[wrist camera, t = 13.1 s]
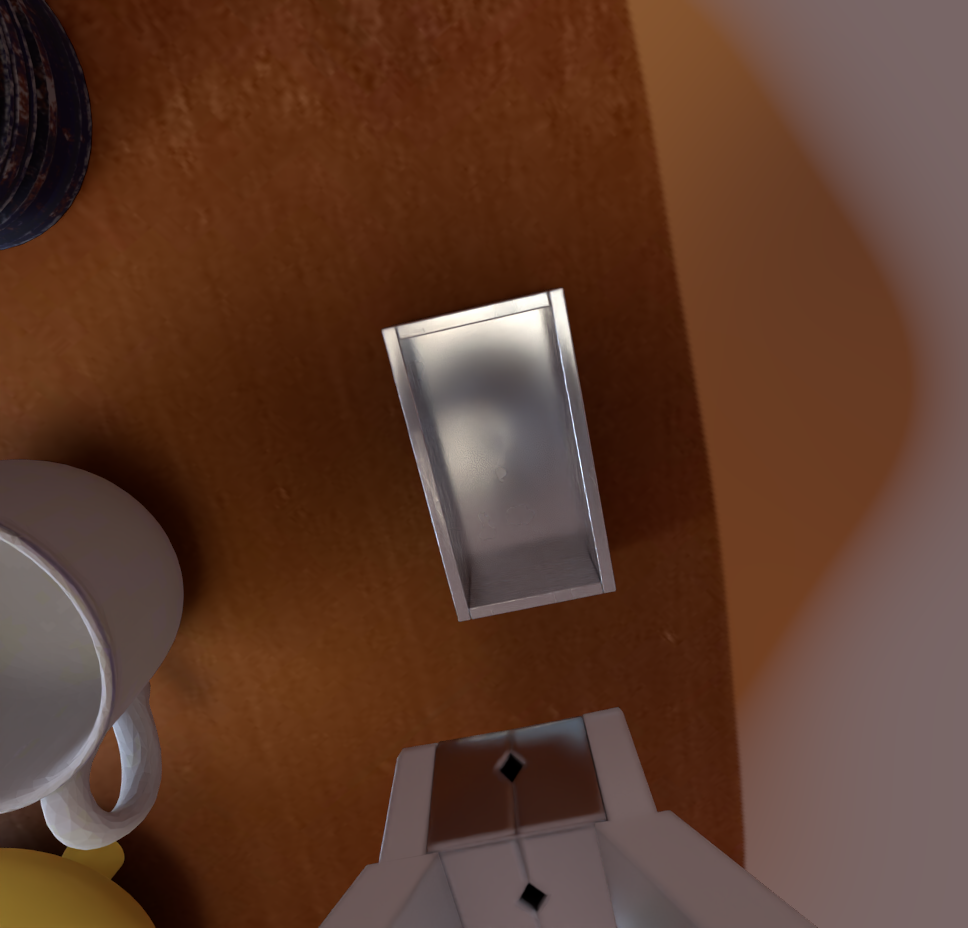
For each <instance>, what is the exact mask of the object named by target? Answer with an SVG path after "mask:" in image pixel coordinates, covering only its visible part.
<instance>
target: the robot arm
mask: <svg viewBox="0 0 968 928" xmlns="http://www.w3.org/2000/svg"><path fill="white" fill-rule="evenodd" d="M318 928H818V927H816V926H815V925H814V924H813V923H811V922H810V921H809V920H808V919H806V918H805V917H804V916H802V915H801V914H800V913H799V912H797V911H796V910H795V909H794V908H792V907H791V906H790V905H789V904H787V903H786V902H785V901H784V900H782V899H781V898H780V897H779V896H777V895H776V894H775V893H774V892H772V891H771V890H770V889H769V888H767V887H766V886H765V885H764V884H762V883H761V882H760V881H758V880H757V879H756V878H755V877H753V876H752V875H751V874H750V873H748V872H747V871H746V870H745V869H743V868H742V867H741V866H740V865H738V864H737V863H736V862H735V861H733V860H732V859H731V858H730V857H728V856H727V855H726V854H724V853H723V852H722V851H721V850H719V849H718V848H717V847H716V846H714V845H713V844H712V843H711V842H709V841H708V840H707V839H706V838H704V837H703V836H702V835H701V834H699V833H698V832H697V831H696V830H694V829H693V828H692V827H690V826H689V825H688V824H687V823H685V822H684V821H683V820H682V819H680V818H679V817H678V816H677V815H675V814H674V813H673V812H672V811H670V810H668V811H662V812H657V810H656V807H655V804H654V801H653V798H652V795H651V792H650V789H649V787H648V784H647V781H646V778H645V775H644V772H643V769H642V766H641V763H640V760H639V758H638V755H637V752H636V749H635V746H634V743H633V740H632V737H631V734H630V731H629V729H628V726H627V723H626V720H625V717H624V714H623V712H622V710H621V709H620V708H619V707H616V708H611V709H607V710H602V711H597V712H592V713H588V714H583V719H582V716H577V717H572V718H567V719H562V720H557V721H552V722H547V723H542V724H537V725H532V726H527V727H522V728H517V729H512V730H506V731H500V732H494V733H488V734H482V735H476V736H470V737H464V738H458V739H452V740H446V741H440V742H439V743H433V744H427V745H421V746H415V747H409V748H403V749H402V751H401V752H400V754H399V756H398V758H397V762H396V768H395V773H394V779H393V784H392V790H391V796H390V801H389V807H388V813H387V818H386V824H385V829H384V835H383V841H382V846H381V852H380V858H379V863H375V864H370V865H366V867H365V868H364V869H363V871H362V872H361V873H360V874H359V876H358V877H357V878H356V880H355V881H354V882H353V883H352V885H351V886H350V887H349V889H348V890H347V891H346V893H345V894H344V895H343V896H342V898H341V899H340V900H339V902H338V903H337V904H336V905H335V907H334V908H333V909H332V911H331V912H330V913H329V915H328V916H327V917H326V918H325V920H324V921H323V922H322V924H321V925H320V926H319V927H318Z"/></svg>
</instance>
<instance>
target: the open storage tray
mask: <svg viewBox="0 0 968 928" xmlns="http://www.w3.org/2000/svg"><path fill="white" fill-rule="evenodd" d="M381 332H382V336H383V340H384V343H385V347H386V351H387V355H388V358H389V362H390V366H391V370H392V373H393V377H394V381H395V385H396V388H397V392H398V396H399V400H400V403H401V407H402V411H403V415H404V419H405V422H406V426H407V430H408V434H409V437H410V441H411V445H412V449H413V452H414V456H415V460H416V464H417V467H418V471H419V475H420V479H421V482H422V486H423V490H424V494H425V498H426V501H427V505H428V509H429V513H430V516H431V520H432V524H433V528H434V531H435V535H436V539H437V543H438V546H439V550H440V554H441V558H442V561H443V565H444V569H445V573H446V576H447V580H448V584H449V588H450V592H451V595H452V599H453V603H454V607H455V610H456V614H457V618H458V621H459V622H461V621H466V620H470V619H477V618H482V617H487V616H492V615H497V614H502V613H507V612H512V611H517V610H522V609H527V608H532V607H538V606H543V605H548V604H553V603H558V602H563V601H568V600H573V599H578V598H583V597H588V596H593V595H598V594H602V593H608V592H613V591H616V585H615V579H614V574H613V568H612V562H611V556H610V551H609V545H608V539H607V533H606V528H605V522H604V516H603V511H602V505H601V499H600V493H599V488H598V482H597V476H596V470H595V465H594V459H593V453H592V448H591V442H590V436H589V430H588V425H587V419H586V413H585V407H584V402H583V396H582V390H581V384H580V379H579V373H578V367H577V362H576V356H575V350H574V344H573V339H572V333H571V327H570V321H569V316H568V310H567V304H566V298H565V293H564V288H563V287H559V288H550V289H546V290H542V291H537V292H533V293H529V294H524V295H520V296H516V297H511V298H507V299H503V300H498V301H494V302H490V303H485V304H481V305H477V306H472V307H468V308H464V309H459V310H455V311H451V312H446V313H442V314H438V315H433V316H429V317H425V318H420V319H416V320H411V321H407V322H403V323H398V324H395V325H392V326H389V327H385V328H383V329H381Z"/></svg>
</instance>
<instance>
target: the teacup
mask: <svg viewBox="0 0 968 928" xmlns="http://www.w3.org/2000/svg"><path fill="white" fill-rule="evenodd" d="M183 599H184V591H183V580H182V573H181V569H180V566H179V562H178V559H177V555H176V553H175V551H174V549H173V547H172V545H171V543H170V540H169V538H168V536H167V535H166V533H165V532H164V530H163V529H162V527H161V526H160V524H159V523H158V522H157V521H156V519H155V518H154V517H153V516H152V515H151V514H150V513H149V511H148V510H147V509H146V508H145V507H144V506H143V505H142V504H141V503H140V502H138V501H137V500H136V499H135V498H133V497H132V496H131V495H130V494H128V493H127V492H125V491H124V490H122V489H121V488H119V487H118V486H116V485H115V484H113V483H111V482H110V481H108V480H106V479H104V478H102V477H99V476H97V475H95V474H92V473H90V472H87V471H85V470H82V469H78V468H75V467H72V466H69V465H65V464H60V463H55V462H49V461H38V460H26V459H24V460H0V814H2V813H6V812H11V811H14V810H17V809H20V808H23V807H25V806H28V805H30V804H33V803H34V802H36V801H38V800H40V799H41V807H42V810H43V814H44V817H45V820H46V824H47V826H48V827H49V829H50V830H51V832H52V833H53V835H54V836H55V838H57V839H58V840H59V841H60V842H62V843H63V844H64V845H66V846H68V847H72V848H76V849H81V850H90V849H96V848H101V847H104V846H107V845H109V844H111V843H113V842H115V841H117V840H119V839H120V838H122V837H124V836H125V835H127V834H129V833H130V832H131V831H132V830H133V829H135V828H136V827H137V826H138V825H139V824H140V823H141V822H142V821H143V820H144V819H145V817H146V816H147V814H148V813H149V811H150V810H151V808H152V806H153V805H154V803H155V800H156V798H157V794H158V790H159V786H160V782H161V774H162V761H161V747H160V743H159V738H158V733H157V729H156V726H155V722H154V719H153V715H152V712H151V709H150V705H149V697H150V683H149V680H150V679H151V678H152V676H153V675H154V674H155V672H156V671H157V669H158V668H159V666H160V665H161V663H162V662H163V660H164V658H165V657H166V655H167V654H168V652H169V650H170V648H171V646H172V644H173V642H174V640H175V637H176V634H177V631H178V628H179V625H180V620H181V616H182V611H183ZM112 726H113V729H114V732H115V735H116V738H117V742H118V745H119V750H120V756H121V765H122V784H121V791H120V797H119V799H118V802H117V804H116V806H115V807H114V809H113V810H112V811H111V812H106V811H103V810H102V809H101V808H100V807H99V806H98V805H97V804H96V802H95V800H94V798H93V796H92V794H91V792H90V783H89V777H90V771H91V766H92V762H93V760H94V757H95V755H96V753H97V751H98V749H99V746H100V744H101V742H102V740H103V738H104V736H105V734H106V733H107V731H108V730H109V729H110V728H111V727H112Z"/></svg>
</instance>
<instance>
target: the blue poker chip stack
mask: <svg viewBox="0 0 968 928" xmlns="http://www.w3.org/2000/svg"><path fill="white" fill-rule="evenodd" d="M91 128H92V121H91V112H90V103H89V96H88V92H87V88H86V84H85V80H84V76H83V72H82V69H81V66H80V64H79V61H78V59H77V56H76V54H75V51H74V49H73V46H72V44H71V42H70V40H69V38H68V37H67V35H66V33H65V31H64V29H63V27H62V26H61V24H60V22H59V20H58V19H57V17H56V16H55V14H54V13H53V12H52V10H51V9H50V7H49V6H48V5H47V3H46V2H45V0H0V250H3V249H7V248H10V247H14V246H17V245H21V244H24V243H25V242H27V241H29V240H31V239H33V238H35V237H37V236H39V235H41V234H42V233H43V232H45V231H46V230H47V229H49V228H50V227H51V226H52V225H54V224H55V223H56V222H57V221H58V220H59V219H60V217H61V216H62V215H63V214H64V213H65V212H66V210H67V209H68V208H69V207H70V205H71V203H72V201H73V200H74V198H75V196H76V195H77V193H78V191H79V189H80V186H81V184H82V181H83V178H84V175H85V173H86V170H87V165H88V160H89V154H90V149H91Z"/></svg>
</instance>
